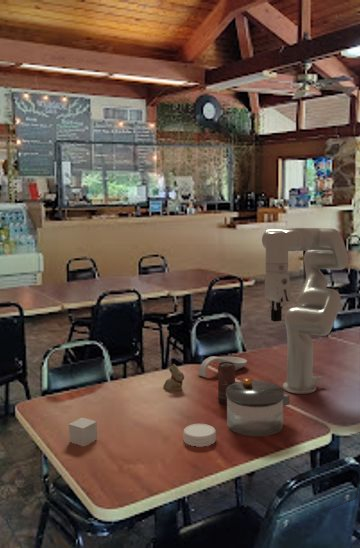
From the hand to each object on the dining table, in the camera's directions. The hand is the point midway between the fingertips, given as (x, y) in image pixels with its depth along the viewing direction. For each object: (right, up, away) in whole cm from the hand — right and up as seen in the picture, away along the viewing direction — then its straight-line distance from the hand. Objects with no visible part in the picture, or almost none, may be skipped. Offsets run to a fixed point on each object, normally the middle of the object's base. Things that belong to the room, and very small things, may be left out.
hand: (276, 320), depth 193 cm
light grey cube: (-63, -36, -19) cm, 75 cm away
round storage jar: (-9, -32, -6) cm, 34 cm away
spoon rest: (-15, -25, +45) cm, 54 cm away
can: (-16, -30, +11) cm, 36 cm away
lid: (-9, -23, -11) cm, 27 cm away
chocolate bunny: (-36, -29, +24) cm, 52 cm away
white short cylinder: (-27, -35, -20) cm, 49 cm away
